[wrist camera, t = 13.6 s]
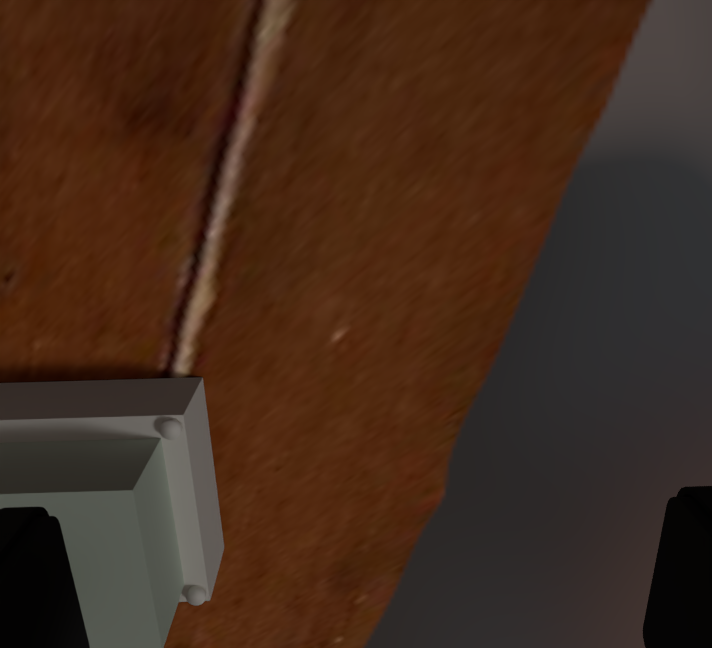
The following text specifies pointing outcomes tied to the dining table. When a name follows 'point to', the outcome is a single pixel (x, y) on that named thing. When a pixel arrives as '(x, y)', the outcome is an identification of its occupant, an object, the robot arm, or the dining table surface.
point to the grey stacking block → (119, 494)
